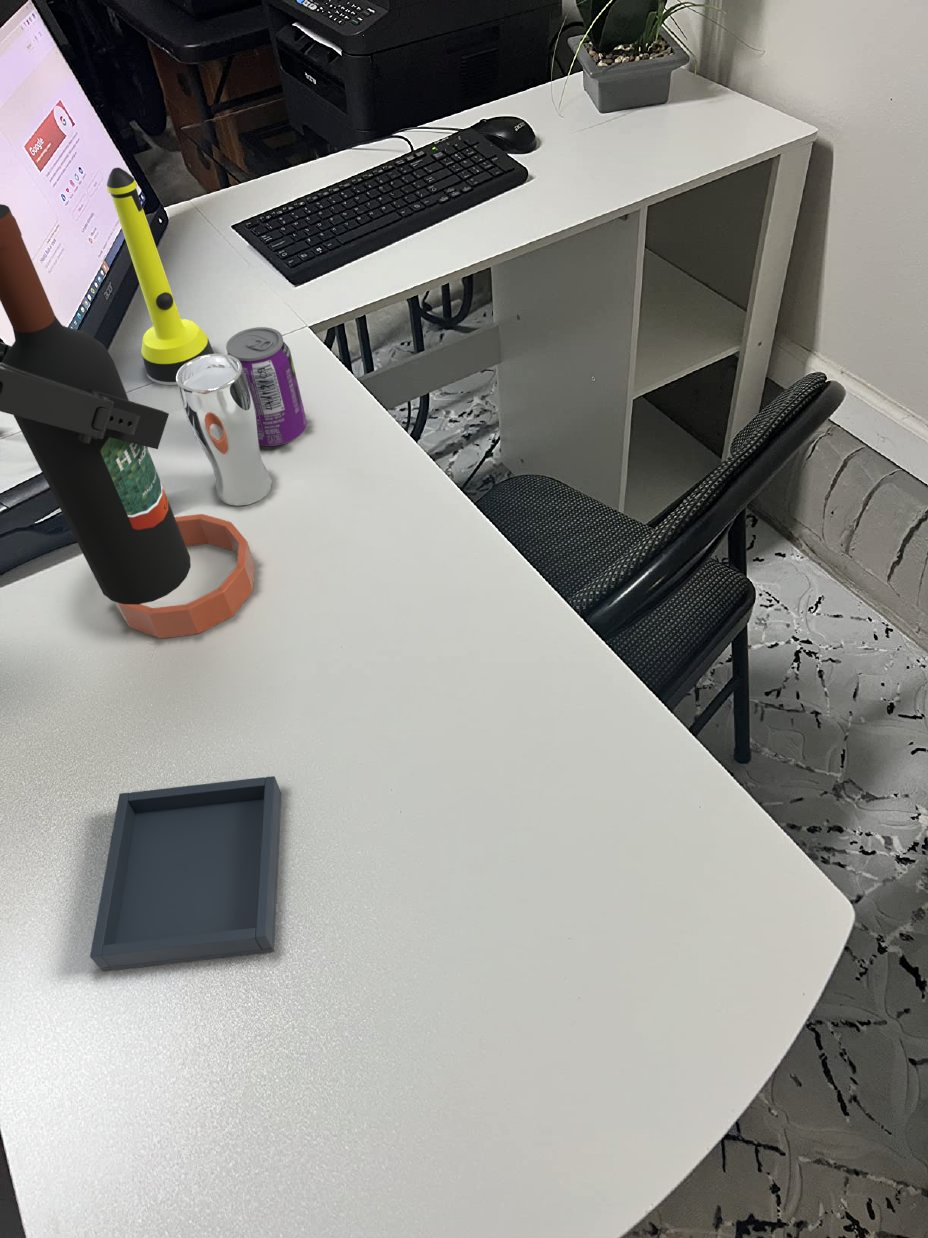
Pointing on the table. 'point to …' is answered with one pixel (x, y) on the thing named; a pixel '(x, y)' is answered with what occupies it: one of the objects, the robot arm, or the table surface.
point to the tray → (190, 875)
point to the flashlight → (155, 290)
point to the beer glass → (225, 426)
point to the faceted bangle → (209, 606)
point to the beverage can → (270, 384)
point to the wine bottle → (90, 446)
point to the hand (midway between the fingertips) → (121, 413)
